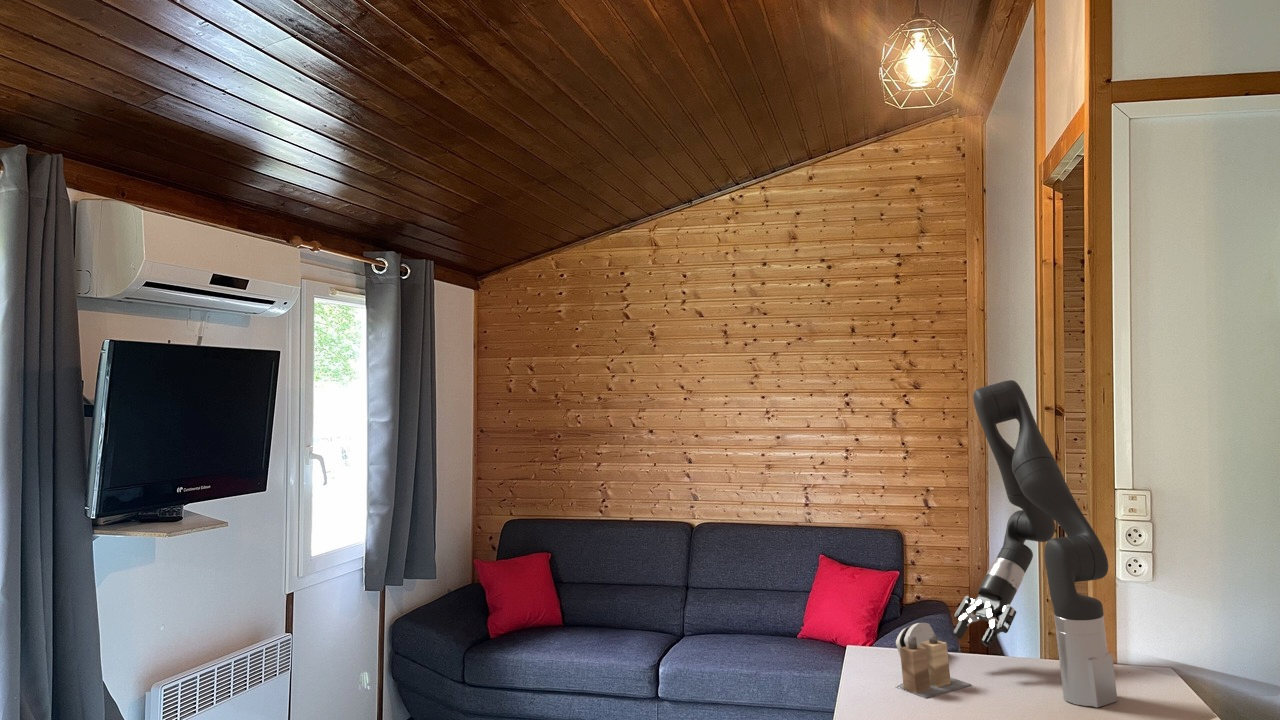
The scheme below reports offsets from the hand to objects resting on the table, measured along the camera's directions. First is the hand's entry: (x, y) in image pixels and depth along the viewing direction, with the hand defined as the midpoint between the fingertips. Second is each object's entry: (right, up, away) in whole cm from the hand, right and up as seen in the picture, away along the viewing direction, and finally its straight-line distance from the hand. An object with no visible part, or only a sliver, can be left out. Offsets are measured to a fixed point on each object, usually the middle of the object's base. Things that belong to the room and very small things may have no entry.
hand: (970, 640), depth 208 cm
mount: (-11, -8, -6) cm, 15 cm away
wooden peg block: (-9, -8, -5) cm, 13 cm away
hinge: (-7, -9, +12) cm, 17 cm away
